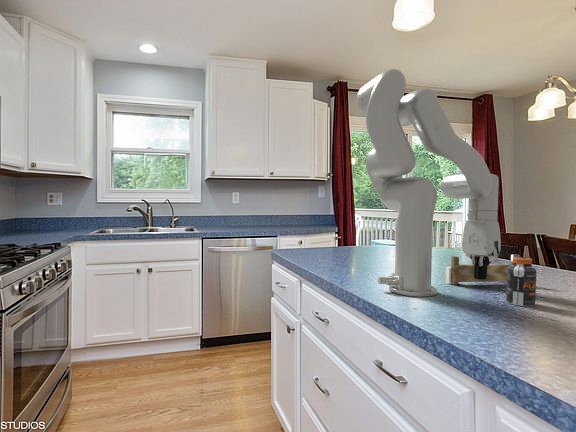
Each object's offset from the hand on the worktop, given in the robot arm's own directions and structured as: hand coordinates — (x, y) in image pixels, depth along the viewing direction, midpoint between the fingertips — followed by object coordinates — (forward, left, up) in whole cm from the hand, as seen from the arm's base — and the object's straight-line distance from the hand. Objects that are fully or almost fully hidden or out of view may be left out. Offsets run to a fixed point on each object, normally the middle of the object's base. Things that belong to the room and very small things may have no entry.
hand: (480, 278), depth 103 cm
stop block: (-6, +5, -2) cm, 8 cm away
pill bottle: (-2, -17, -3) cm, 17 cm away
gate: (+2, +3, -2) cm, 4 cm away
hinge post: (+13, +3, -2) cm, 14 cm away
